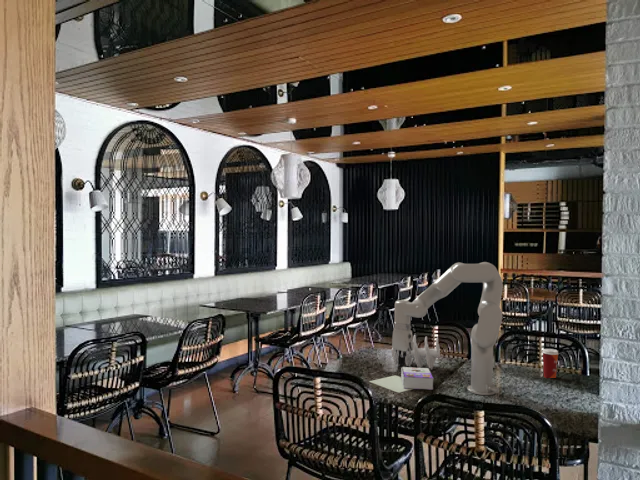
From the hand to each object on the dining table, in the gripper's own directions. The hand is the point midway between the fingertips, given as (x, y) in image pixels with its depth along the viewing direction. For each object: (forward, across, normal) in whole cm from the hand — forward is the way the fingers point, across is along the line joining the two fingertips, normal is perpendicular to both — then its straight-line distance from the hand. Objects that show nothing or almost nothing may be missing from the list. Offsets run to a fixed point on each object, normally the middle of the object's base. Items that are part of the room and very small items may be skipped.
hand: (401, 364), depth 234 cm
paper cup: (+10, -34, -73) cm, 81 cm away
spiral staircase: (+10, +18, -30) cm, 36 cm away
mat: (+10, +3, 0) cm, 11 cm away
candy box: (+7, -9, -2) cm, 12 cm away
